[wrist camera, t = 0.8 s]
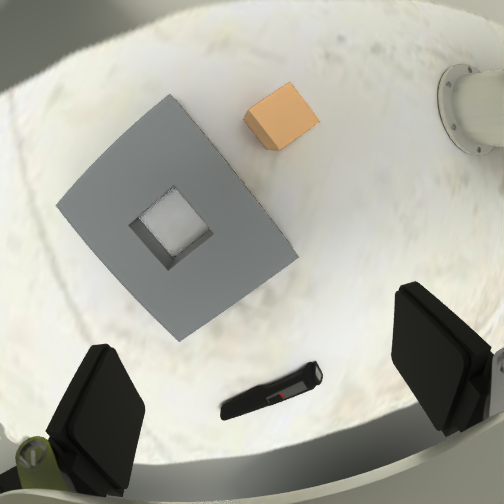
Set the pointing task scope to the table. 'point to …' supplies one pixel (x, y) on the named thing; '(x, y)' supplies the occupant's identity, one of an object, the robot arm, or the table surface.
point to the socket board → (201, 200)
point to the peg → (280, 118)
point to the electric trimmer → (273, 392)
